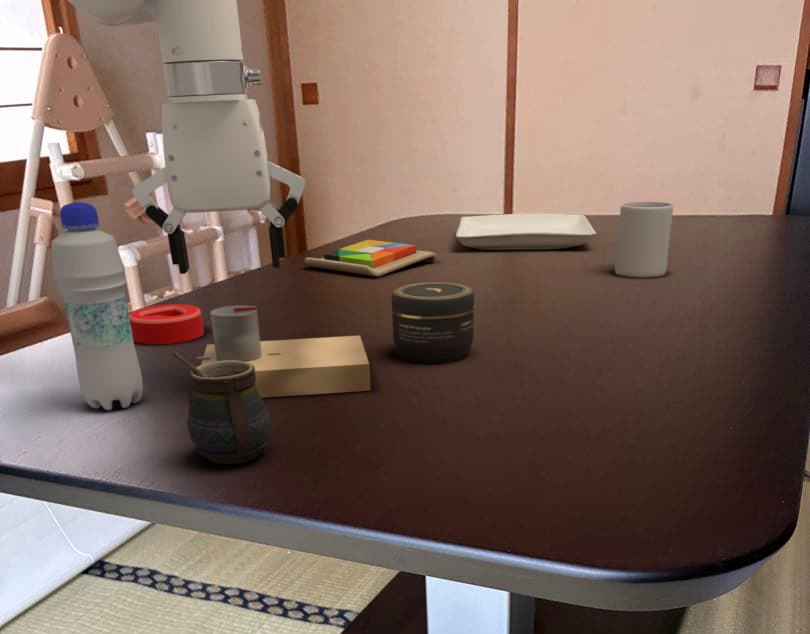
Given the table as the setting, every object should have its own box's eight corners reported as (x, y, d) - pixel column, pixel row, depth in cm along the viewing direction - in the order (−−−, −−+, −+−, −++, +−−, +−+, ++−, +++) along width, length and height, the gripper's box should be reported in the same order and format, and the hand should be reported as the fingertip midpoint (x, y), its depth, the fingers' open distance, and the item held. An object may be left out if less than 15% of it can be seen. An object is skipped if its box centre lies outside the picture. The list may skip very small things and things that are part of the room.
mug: (668, 277, 139) (677, 207, 134) (616, 277, 140) (622, 207, 135) (660, 264, 150) (667, 198, 144) (611, 264, 151) (617, 199, 146)
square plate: (460, 232, 189) (461, 214, 188) (583, 231, 187) (584, 212, 185) (455, 253, 166) (455, 232, 164) (595, 251, 163) (597, 230, 161)
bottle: (128, 389, 93) (92, 196, 84) (159, 402, 89) (124, 200, 80) (71, 404, 89) (26, 203, 80) (101, 418, 85) (56, 208, 75)
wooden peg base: (196, 402, 89) (191, 373, 87) (205, 369, 99) (201, 343, 98) (370, 390, 91) (369, 362, 89) (361, 360, 101) (360, 334, 100)
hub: (214, 363, 91) (208, 314, 88) (217, 351, 95) (211, 303, 92) (261, 360, 91) (255, 311, 89) (262, 348, 95) (257, 301, 93)
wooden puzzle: (302, 269, 155) (300, 249, 153) (371, 254, 167) (370, 235, 166) (371, 279, 145) (370, 258, 143) (439, 262, 157) (439, 242, 156)
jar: (418, 339, 109) (417, 278, 105) (487, 347, 104) (489, 285, 101) (377, 358, 101) (374, 294, 98) (450, 369, 97) (450, 302, 93)
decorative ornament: (203, 324, 119) (200, 301, 118) (204, 340, 111) (201, 316, 110) (133, 329, 118) (129, 306, 116) (129, 346, 109) (125, 322, 108)
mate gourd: (287, 459, 74) (276, 348, 69) (204, 479, 71) (187, 363, 66) (256, 435, 80) (244, 330, 75) (178, 452, 76) (160, 343, 72)
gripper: (296, 81, 85) (311, 257, 93) (121, 89, 83) (152, 267, 91) (297, 80, 78) (313, 270, 86) (107, 88, 76) (142, 280, 84)
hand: (231, 268), depth 89 cm, fingers open, 9 cm apart
